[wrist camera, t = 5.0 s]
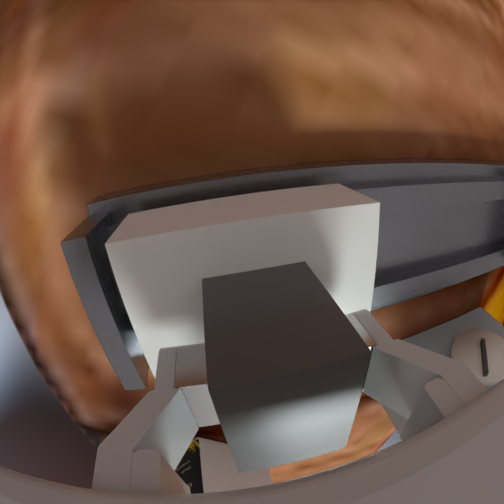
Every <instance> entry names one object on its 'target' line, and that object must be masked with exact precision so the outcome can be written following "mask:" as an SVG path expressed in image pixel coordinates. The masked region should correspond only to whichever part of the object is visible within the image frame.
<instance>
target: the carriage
mask: <svg viewBox="0 0 504 504" xmlns="http://www.w3.org/2000/svg"><path fill="white" fill-rule="evenodd" d="M379 214H380V202H378V201H376V200H374V199H372V198H369V197H367V196H365V195H363V194H361V193H359V192H357V191H354V190H352V189H350V188H348V187H345V186H343V185H341V184H339V183H337V184H327V185H317V186H307V187H298V188H290V189H281V190H273V191H265V192H257V193H250V194H243V195H236V196H229V197H222V198H216V199H209V200H203V201H197V202H191V203H185V204H179V205H173V206H168V207H162V208H157V209H151V210H146V211H141V212H136V213H131V214H128V215H127V216H126V218H125V219H124V220H123V221H122V223H121V224H120V225H119V226H118V228H117V229H116V230H115V231H114V233H113V234H112V235H111V237H110V238H109V239H108V240H107V242H106V243H105V247H106V250H107V254H108V257H109V260H110V264H111V267H112V270H113V273H114V276H115V279H116V282H117V285H118V288H119V291H120V294H121V297H122V300H123V302H124V305H125V308H126V311H127V313H128V316H129V319H130V321H131V324H132V326H133V329H134V331H135V334H136V336H137V339H138V341H139V344H140V346H141V348H142V351H143V353H144V355H145V358H146V360H147V362H148V364H149V367H150V369H151V371H152V373H153V375H154V377H155V379H156V370H157V361H158V353H159V350H160V349H161V348H166V347H175V346H177V347H178V346H182V345H191V344H199V343H205V355H206V370H207V383H208V390H209V393H210V396H211V399H212V402H213V405H214V408H215V411H216V413H217V416H218V419H219V422H220V424H221V427H222V430H223V433H224V435H225V438H226V441H227V443H228V446H229V448H230V451H231V453H232V456H233V459H234V461H235V463H236V466H237V468H238V471H239V473H242V472H248V471H254V470H260V469H265V468H270V467H275V466H280V465H284V464H289V463H293V462H297V461H301V460H305V459H309V458H312V457H316V456H319V455H323V454H326V453H329V452H333V451H336V450H339V449H342V448H345V446H346V443H347V440H348V437H349V434H350V431H351V428H352V424H353V421H354V418H355V414H356V411H357V407H358V404H359V400H360V396H361V392H362V388H363V384H364V380H365V376H366V372H367V368H368V363H369V359H370V354H371V350H370V349H369V348H368V346H367V345H366V343H365V342H364V341H363V339H362V338H361V336H360V335H359V334H358V332H357V331H356V329H355V328H354V327H353V325H352V324H351V322H350V321H349V320H348V318H347V317H346V316H345V315H346V314H350V313H352V312H356V311H359V310H363V309H366V310H368V311H369V312H371V305H372V297H373V289H374V280H375V271H376V260H377V248H378V233H379Z"/></svg>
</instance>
